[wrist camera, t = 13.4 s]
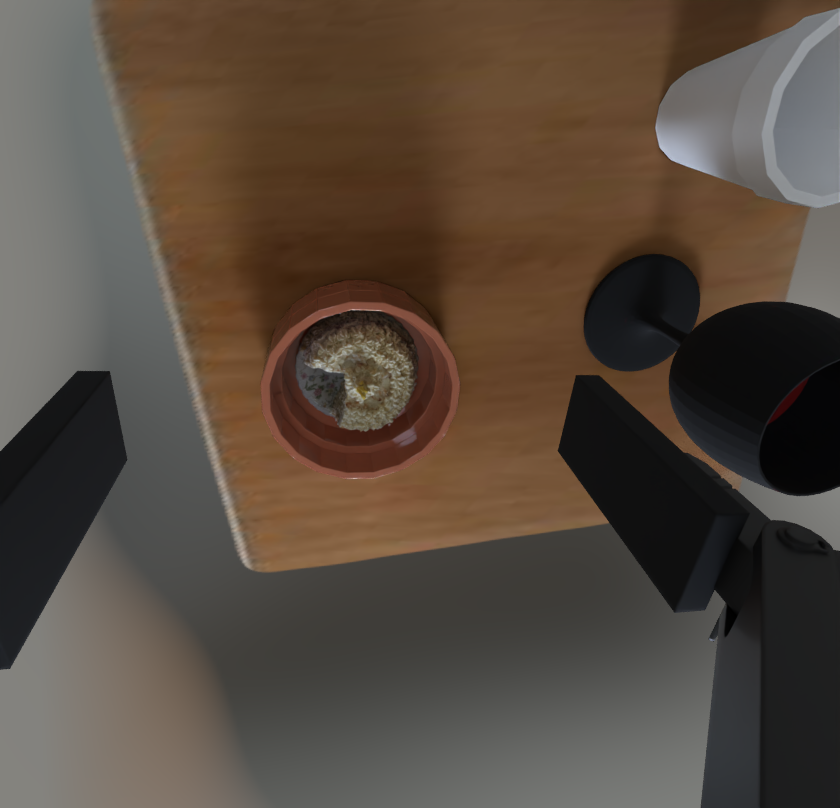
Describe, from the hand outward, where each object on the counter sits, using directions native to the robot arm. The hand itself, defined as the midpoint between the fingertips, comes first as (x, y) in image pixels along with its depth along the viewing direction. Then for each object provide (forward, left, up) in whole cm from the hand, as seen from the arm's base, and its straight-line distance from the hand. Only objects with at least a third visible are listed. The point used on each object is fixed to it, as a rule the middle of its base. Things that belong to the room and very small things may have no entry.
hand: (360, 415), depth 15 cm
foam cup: (-10, +26, -27) cm, 39 cm away
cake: (+10, +2, -26) cm, 28 cm away
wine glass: (+5, +26, -27) cm, 38 cm away
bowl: (+10, +2, -27) cm, 29 cm away
